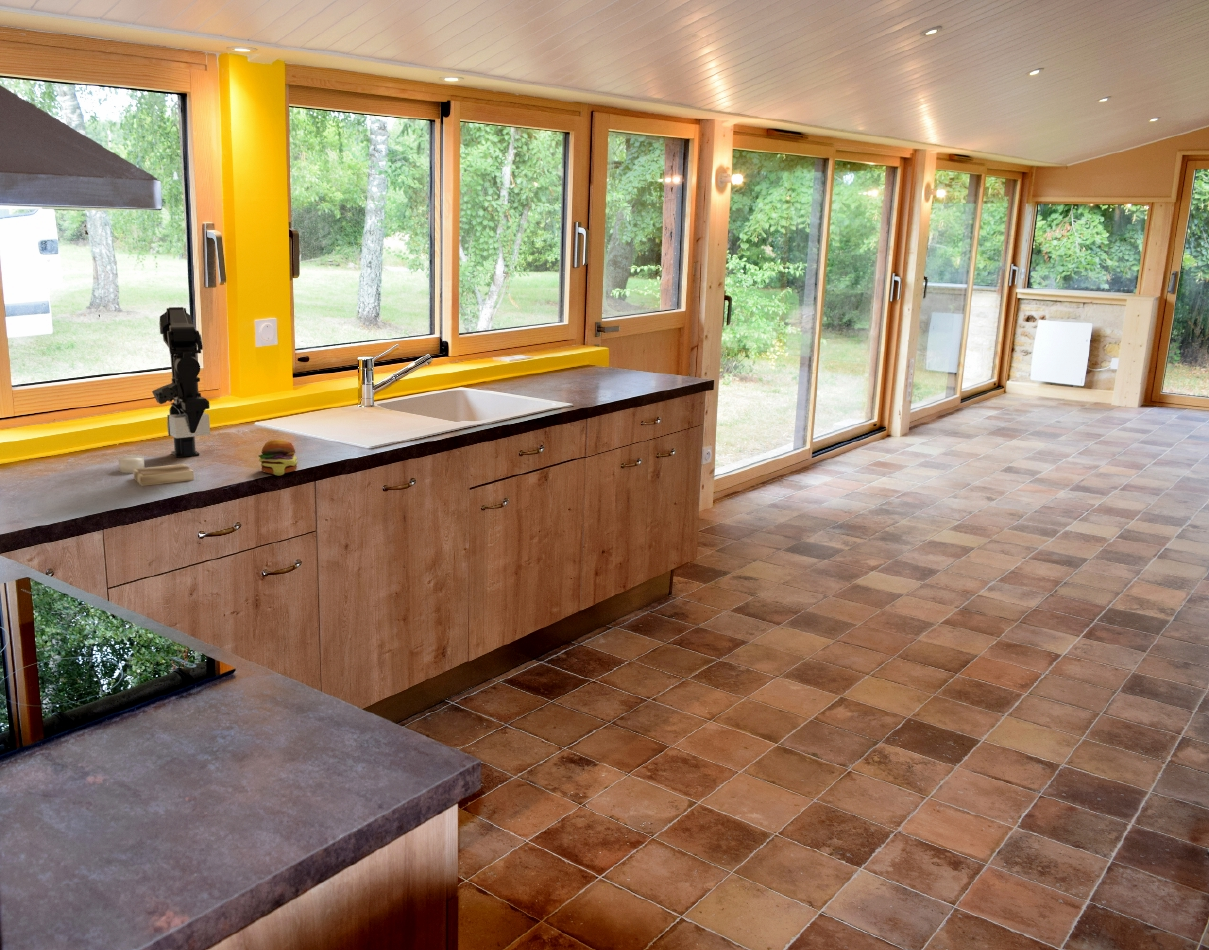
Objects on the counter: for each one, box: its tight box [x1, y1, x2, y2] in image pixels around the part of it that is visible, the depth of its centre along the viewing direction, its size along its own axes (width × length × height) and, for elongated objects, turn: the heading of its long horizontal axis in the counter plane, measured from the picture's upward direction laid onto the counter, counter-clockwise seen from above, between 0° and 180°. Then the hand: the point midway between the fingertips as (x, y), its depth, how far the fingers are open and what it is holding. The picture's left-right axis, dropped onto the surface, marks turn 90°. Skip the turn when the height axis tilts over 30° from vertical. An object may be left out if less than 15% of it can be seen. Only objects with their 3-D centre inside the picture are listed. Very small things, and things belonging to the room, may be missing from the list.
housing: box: [168, 412, 211, 438], centre depth 289 cm, size 5×9×6 cm, turn 129°
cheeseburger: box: [258, 438, 298, 476], centre depth 295 cm, size 10×11×10 cm
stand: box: [132, 463, 195, 487], centre depth 283 cm, size 9×13×3 cm
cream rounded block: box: [117, 455, 146, 474], centre depth 291 cm, size 6×6×4 cm
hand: (189, 431), depth 289 cm, fingers closed on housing, 5 cm apart
